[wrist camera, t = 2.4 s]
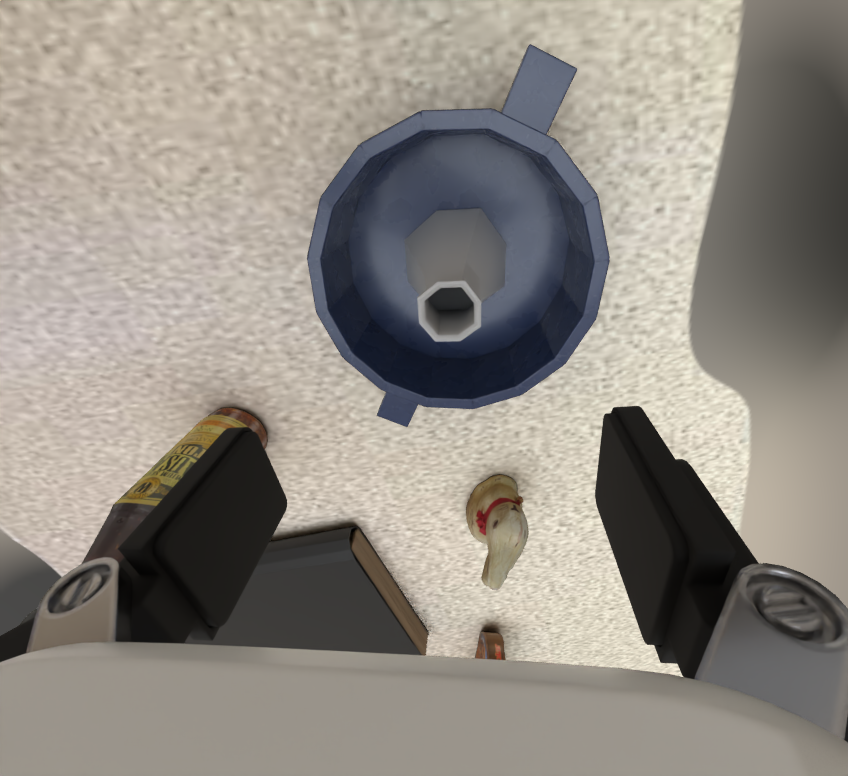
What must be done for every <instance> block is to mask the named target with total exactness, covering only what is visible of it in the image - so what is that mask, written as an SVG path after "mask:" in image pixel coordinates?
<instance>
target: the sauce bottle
mask: <svg viewBox="0 0 848 776" xmlns="http://www.w3.org/2000/svg"><path fill="white" fill-rule="evenodd" d="M236 427H249V428H250V429H252V431H253V432H256V433H257V434H258V436H259V438H260V440H261V442H262V445H263V447H264V449H265V448H266V445H267V434H266V432H265V429H264V427H263V425H262V424H261V423H260V421H258V420H257V419H256V418H255V417H253V416H252V415H250V414H249V413H246V412H244V411H242V410H239V409H235V408H223V409H220V410H218V411H215V412H214V413H212V414H210V415H209V416H208V417H205V418H204V419H202V420H201V421H200V422H199V423H198V424H197V425H196V426H195V427H194V428H193V429H192V430H191V431H190V432H189V433H188V434H187V435H186V436H185V437H184V438H183V439H181V440H180V441H179V442H178V443H177V444H176V445H175V446H174V447H173V448H172V449H171V450H170V451H169V452H168V453H167V454H166V455H165V456H164V457H162V458H161V459H160V461H159V462H158V463H157V464H155V465H154V466H153V467H152V469H150V470H149V471H148V472H147V473H146V474H145V475H144V476H143V477H142V478H141V479H140V480H139V481H138V482H137V483H136V484H135V485H134V486H133V487H131V488H130V489H129V490H128V491H127V492H126V493H125V494H124V495H123V496H122V497H121V498H120V499H119V500H118V501H117V502H116V503H115V504H114V505H113V507H112V509H111V511H110V514H109V515H108V517H107V519H106V521H105V523H104V525H103V526H102V528H101V530H100V532H99V534H98V535H97V537H96V539H95V541H94V543H93V544H92V546H91V548H90V550H89V552H88V553H87V555H86V557H85V559H84V561H83V562H82V564H84V563H86V562H89V561H91V560H94V559H98V558H103V557H108V558H113V559H114V560H116V561H117V562H118V563H120V562H121V560H122V559H123V558H124V556H123V555H122V553H121V552H120V551H119V550H118V548H119V547H120V545H121V544H122V543H123V542H124V541H125V540H126V539H127V538H128V537H129V536H130V534H131V533H132V532H133V531H134V530H135V529H136V528H137V527H138V526H139V524H140V523H141V522H142V521H143V520H144V519H145V518H146V517H147V516H148V514H149V513H150V512H151V511H152V510H153V509H154V508H155V507H156V506H157V504H158V503H159V502H160V501H161V500H162V499H163V498H164V497H165V496H166V494H167V493H168V492H169V491H170V490H171V489H172V488H173V487H174V486H175V484H176V483H177V482H178V481H179V480H180V479H181V478H182V477H183V476H184V475H185V473H186V472H187V471H188V470H189V469H190V468H191V467H192V466H193V465H194V463H195V462H196V461H197V460H198V459H199V458H200V457H201V456H202V455H203V453H204V452H205V451H206V450H207V449H208V448H209V447H210V446H211V445H212V443H213V442H214V441H215V440H216V439H217V438H218V437H219V436H220V435H221V433H222V432H223V431H224V430H226V429H227V428H236ZM82 564H81V565H82ZM79 566H80V565H79ZM36 612H37V609H35V610H34V611H32V612H31V613H30V614H29V615H28V616H27V617H26V618H25V619H24V620H23V621H22V623H21V624H23V623H25V622H27V621H28V620H30V619H32V618H34V617H35V616H36ZM21 624H20V625H21Z"/></svg>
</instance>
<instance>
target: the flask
mask: <svg viewBox="0 0 848 776" xmlns="http://www.w3.org/2000/svg"><path fill="white" fill-rule="evenodd" d="M404 241H405V253H406V265H407V277H408V282H409V284H410V285H411V286H412V287H413V288H414V289H415V291H416V292H417V293H418V294H419V296H418V297H417V301H418V315H419V324H420V325H421V326H422V327H423V328H424V329H425V330H426V332H427V333H428V334H429V335H430V336H431V337H432V338H433V340H434V341H435V342H443V341H461V340H463V339H464V338H466V337H467V336H468V335H470V334H471V333H473V332H474V331H475V330H477V329H478V328H480V327H481V303H482V302H484V301H485V300H487V299H488V298H489V297H491V296H492V295H493V294H495V293H496V292H497V291H499V290H500V289H501V288H503V287H504V284H505V262H506V243H505V241H504V240H503V239H502V237H501V236H500V234H499V233H498V232H497V230H496V229H495V227H494V226H493V225H492V223H491V222H490V220H489V219H488V217H487V216H486V215H485V213H484V212H483V210H482V209H481V208H474V209H456V210H438V211H436V212H435V213H433V214H432V215H431V216H430V217H429V218H428V219H427V220H426V221H425V222H424V223H422V224H421V225H420V226H419V227H418V228H417V229H416V230H415V231H414V232H413V233H411V234H410V235H409V236H408V237H407V238H406V239H405V240H404Z"/></svg>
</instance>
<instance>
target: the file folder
mask: <svg viewBox="0 0 848 776" xmlns="http://www.w3.org/2000/svg"><path fill="white" fill-rule="evenodd" d="M427 635H429V634H428V632H427V630H426V629H425V627H424V626H423V624H422V623H421V621H420V620H419V618H418V617H417V615H416V614H415V612H414V610H413V609H412V607H411V606H410V604H409V603H408V601H407V600H406V598H405V597H404V595H403V594H402V592H401V590H400V589H399V587H398V586H397V584H396V583H395V581H394V580H393V578H392V577H391V575H390V574H389V572H388V570H387V569H386V567H385V566H384V564H383V563H382V561H381V560H380V558H379V557H378V555H377V554H376V552H375V550H374V549H373V547H372V546H371V544H370V543H369V541H368V540H367V538H366V537H365V535H364V533H363V532H362V530H361V529H360V528H358V527H356V526H354V527H349V528H343V529H338V530H332V531H327V532H321V533H316V534H311V535H305V536H300V537H294V538H289V539H283V540H278V541H272V542H269V543H268V545H267V547H266V549H265V551H264V553H263V555H262V557H261V558H260V560H259V562H258V564H257V566H256V568H255V570H254V572H253V574H252V576H251V577H250V579H249V581H248V583H247V585H246V587H245V589H244V591H243V593H242V594H241V596H240V598H239V600H238V602H237V604H236V606H235V608H234V610H233V612H232V613H231V615H230V617H229V619H228V621H227V622H226V623H225V624H224V625H223V626H221V627H220V628H219V630H218V632H217V634H216V636H215V638H214V639H213V641H208V640H193V639H192V638H191V637H190V635H189V636H188V638H187V639H186V641H185V644H200V645H222V646H245V647H267V648H287V649H307V650H327V651H347V652H366V653H386V654H405V655H423V656H425V655H426V654H425V653H426V651H427V650H426V648H427V647H426V646H427V645H426V644H427V640H428V639H427V638H428V636H427Z"/></svg>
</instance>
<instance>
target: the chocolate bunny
mask: <svg viewBox="0 0 848 776" xmlns="http://www.w3.org/2000/svg"><path fill="white" fill-rule="evenodd" d="M522 502H523V498H522V497H521V496H519V495H518V494H517V486H516V482H515V481H514V480H513V479H512V478H510V477H508V476H505V475H500V474H499V475H496V476H492V477H490V478H489V479H488V480H486V481H485V482H482V483H480V484H479V485H478V486H477V487H476V488H475V489H474V491H473V493H472V494H471V496H470V499H469V501H468V503H467V507H466V517H467V523H468V527H469V529H470V532H471V534H472V535H473V537H474V538H476V539H477V540H478V541H480V542H481V543H484V544H487V545H488V556H487V558H486V561H485V565H484V569H483V573H482V581H483V583H484V584H485V585H486V586H489V587H490V588H491V589H492V590H498V589H499V588H500V587H501V586H502V584H503V582H504V581H505V579H506V578H507V574H508V572H509V571H510V570H511V569H512V568H513V566H514V564H515V563H516V561H517V559H518V558H519V557H520V555H521V553H522V552H523V549H525V548H524V546H525V544H526V542H527V538H528V525H527V520H526V517H525V515H524V512H523V510H522Z"/></svg>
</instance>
